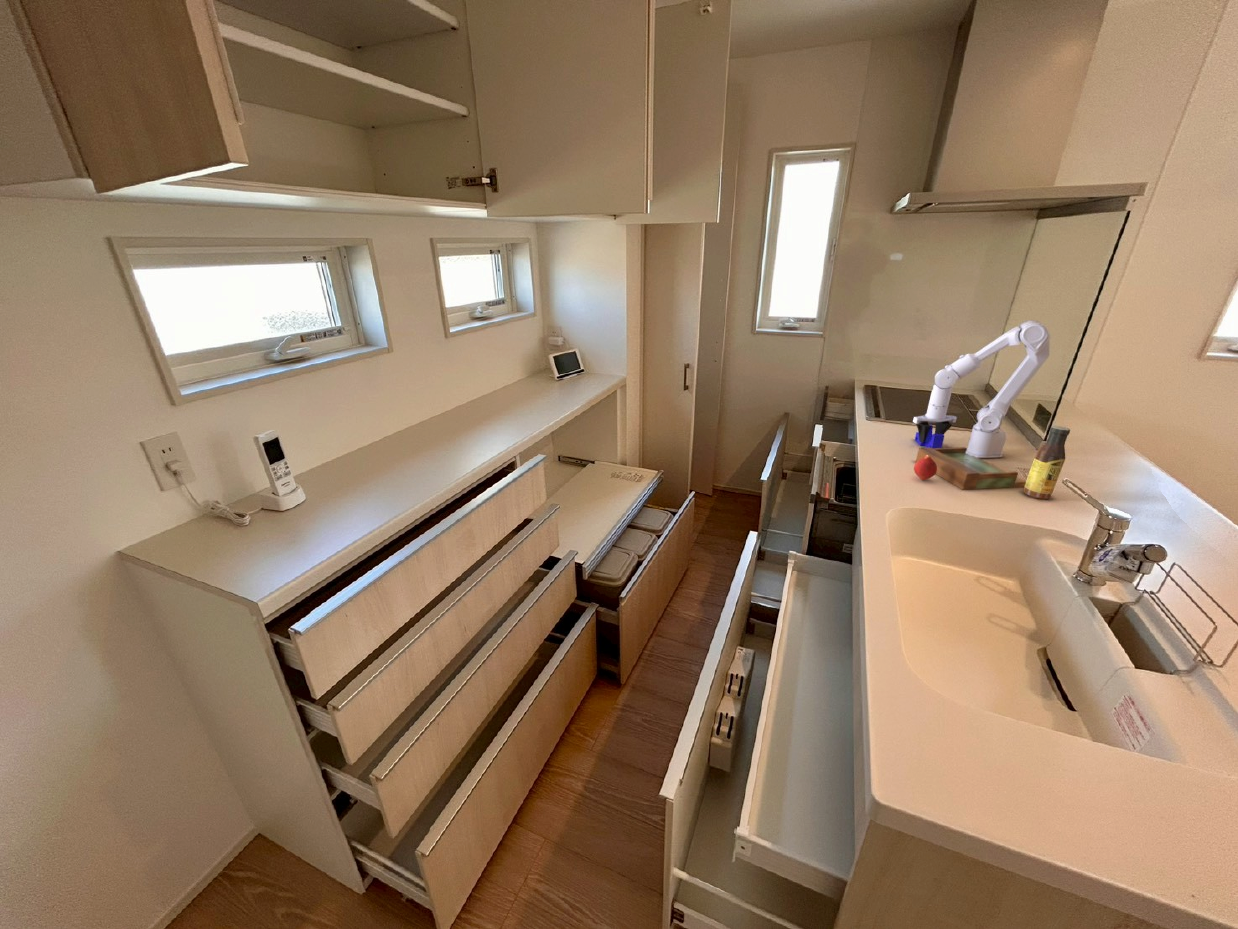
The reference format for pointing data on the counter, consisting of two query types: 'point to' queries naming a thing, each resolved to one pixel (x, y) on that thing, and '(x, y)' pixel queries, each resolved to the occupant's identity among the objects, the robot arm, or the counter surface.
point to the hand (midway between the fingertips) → (929, 441)
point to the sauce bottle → (1047, 464)
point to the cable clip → (931, 439)
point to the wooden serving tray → (969, 469)
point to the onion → (925, 468)
